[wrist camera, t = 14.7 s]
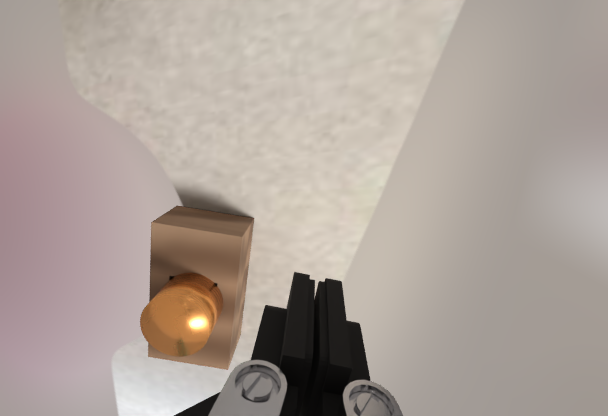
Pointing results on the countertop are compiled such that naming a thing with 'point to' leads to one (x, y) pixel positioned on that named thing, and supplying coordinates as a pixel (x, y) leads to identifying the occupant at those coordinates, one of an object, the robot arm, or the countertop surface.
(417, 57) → the countertop surface
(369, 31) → the countertop surface
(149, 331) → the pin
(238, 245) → the block
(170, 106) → the countertop surface
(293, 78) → the countertop surface
